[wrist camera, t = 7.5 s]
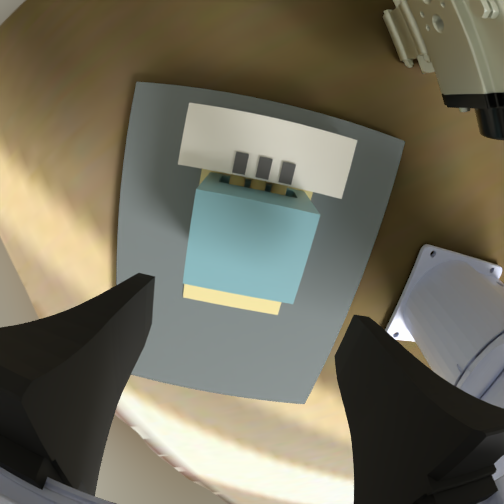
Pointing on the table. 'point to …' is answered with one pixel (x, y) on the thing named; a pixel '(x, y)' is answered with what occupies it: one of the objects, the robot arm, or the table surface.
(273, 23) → the table surface
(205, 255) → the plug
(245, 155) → the header
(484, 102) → the pneumatic valve
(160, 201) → the mat
